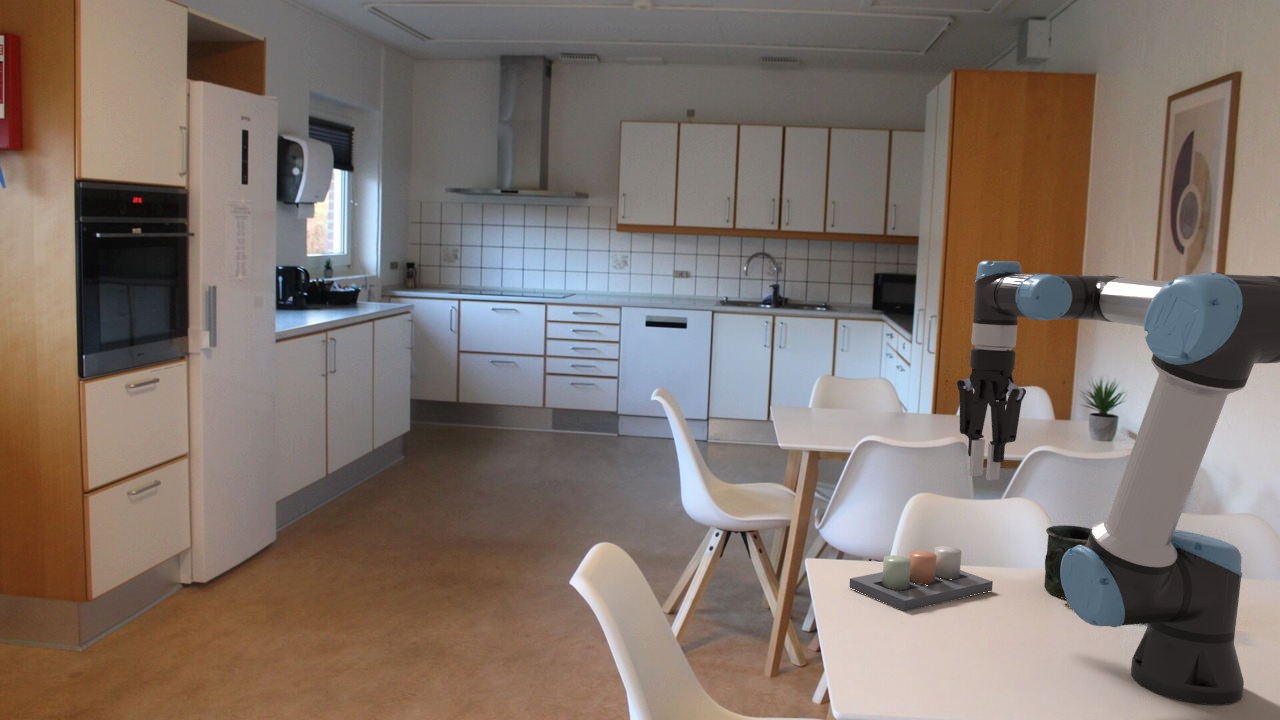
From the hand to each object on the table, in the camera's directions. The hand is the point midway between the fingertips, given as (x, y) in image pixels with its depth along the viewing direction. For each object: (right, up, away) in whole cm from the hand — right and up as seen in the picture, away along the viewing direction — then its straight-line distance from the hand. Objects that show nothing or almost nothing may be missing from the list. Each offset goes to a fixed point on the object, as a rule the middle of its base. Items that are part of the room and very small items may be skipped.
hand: (984, 477), depth 184 cm
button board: (-8, -23, +12) cm, 27 cm away
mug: (+20, -24, +12) cm, 34 cm away
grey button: (-2, -21, +16) cm, 26 cm away
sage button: (-14, -21, +8) cm, 27 cm away
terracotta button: (-8, -21, +12) cm, 26 cm away
